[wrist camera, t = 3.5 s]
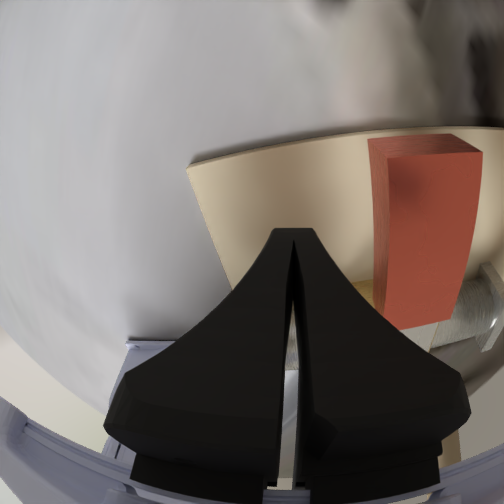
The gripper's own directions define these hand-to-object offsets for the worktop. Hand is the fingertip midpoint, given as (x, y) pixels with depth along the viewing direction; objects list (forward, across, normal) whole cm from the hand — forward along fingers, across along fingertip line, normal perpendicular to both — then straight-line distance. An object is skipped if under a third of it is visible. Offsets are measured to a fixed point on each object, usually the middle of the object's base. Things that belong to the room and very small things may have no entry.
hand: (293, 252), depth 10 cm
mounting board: (+6, -7, +6) cm, 11 cm away
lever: (+1, -5, +3) cm, 6 cm away
